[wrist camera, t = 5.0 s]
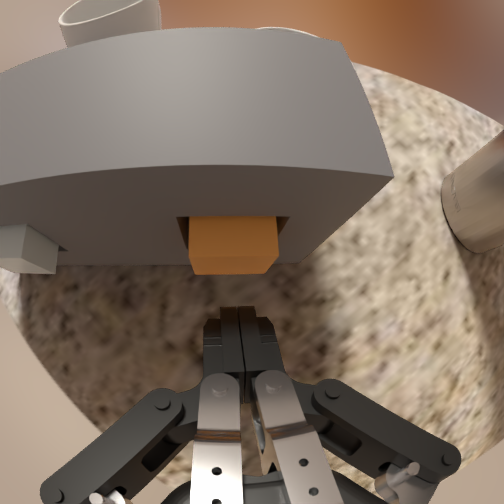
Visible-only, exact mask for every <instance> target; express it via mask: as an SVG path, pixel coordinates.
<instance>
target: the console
mask: <svg viewBox="0 0 504 504" xmlns="http://www.w3.org/2000/svg"><path fill="white" fill-rule="evenodd" d="M393 178H394V174H393V170H392V167H391V164H390V160H389V157H388V154H387V151H386V148H385V145H384V142H383V139H382V136H381V133H380V130H379V127H378V125H377V122H376V119H375V117H374V114H373V111H372V109H371V106H370V104H369V101H368V99H367V97H366V94H365V92H364V89H363V87H362V85H361V83H360V80H359V78H358V76H357V74H356V72H355V69H354V67H353V65H352V63H351V61H350V59H349V57H348V55H347V53H346V51H345V49H344V47H343V45H342V43H341V42H338V41H333V40H329V39H324V38H319V37H314V36H308V35H302V34H296V33H289V32H281V31H272V30H262V29H249V28H226V27H225V28H224V27H221V28H220V27H202V28H178V29H166V30H155V31H146V32H139V33H132V34H126V35H120V36H115V37H109V38H105V39H100V40H96V41H91V42H87V43H83V44H79V45H76V46H72V47H69V48H65V49H62V50H59V51H56V52H53V53H50V54H47V55H44V56H41V57H38V58H35V59H33V60H30V61H28V62H25V63H23V64H20V65H18V66H16V67H13V68H11V69H9V70H6V71H5V72H2V73H0V226H9V225H21V224H29V225H30V226H31V227H33V228H34V229H36V230H37V231H39V232H40V233H42V234H43V235H45V236H46V237H48V238H49V239H51V240H52V241H54V242H55V243H57V244H58V245H59V248H58V256H57V265H191V262H190V259H189V217H190V216H276V222H277V235H278V248H279V256H278V258H277V259H276V260H275V261H274V263H273V264H283V263H300V262H301V261H302V260H303V259H304V258H305V257H307V256H308V255H309V254H310V253H311V252H312V251H314V250H315V249H316V248H317V247H318V246H319V245H320V244H321V243H323V242H324V241H325V240H326V239H327V238H328V237H329V236H331V235H332V234H333V233H334V232H335V231H336V230H337V229H338V228H339V227H341V226H342V225H343V224H344V223H345V222H346V221H347V220H348V219H349V218H351V217H352V216H353V215H354V214H355V213H356V212H357V211H358V210H359V209H360V208H362V207H363V206H364V205H365V204H366V203H367V202H368V201H369V200H370V199H371V198H372V197H373V196H375V195H376V194H377V193H378V192H379V191H380V190H381V189H382V188H383V187H384V186H385V185H386V184H387V183H388V182H389V181H391V180H392V179H393Z"/></svg>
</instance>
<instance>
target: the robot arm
mask: <svg viewBox="0 0 504 504" xmlns="http://www.w3.org/2000/svg"><path fill="white" fill-rule="evenodd" d="M441 198H442V204H443V208H444V211H445V215H446V217H447V220H448V222H449V225H450V227H451V228H452V230H453V232H454V234H455V235H456V237H457V238H458V239H459V241H460V242H461V243H462V244H463V245H464V246H465V247H466V248H467V249H469V250H470V251H472V252H474V253H483V252H485V251H488V250H490V249H495V248H497V247H499V246H502V245H504V130H502V131H501V132H500V133H499V134H498V135H497V136H495V137H494V138H493V139H492V140H491V141H490V142H488V143H487V144H486V145H485V146H484V147H482V148H481V149H480V150H479V151H478V152H476V153H475V154H474V155H473V156H471V157H470V158H469V159H468V160H466V161H465V162H464V163H463V164H461V165H460V166H459V167H458V168H456V169H455V170H454V171H453V172H451V173H450V174H449V175H448V176H447V177H446V178H445V179H444V181H443V183H442V188H441ZM203 338H204V339H203V378H202V380H201V382H200V383H199V384H198V385H197V386H196V387H195V388H193V389H191V390H188V391H185V392H181V393H178V394H177V393H176V392H174V391H172V390H170V389H166V388H160V389H156V390H153V391H151V392H150V393H148V394H147V395H146V396H145V397H144V398H143V399H142V400H141V401H139V402H138V403H137V404H136V405H135V406H134V407H133V408H131V409H130V410H129V411H128V412H127V413H126V414H125V415H123V416H122V417H121V418H120V419H119V420H118V421H117V422H115V423H114V424H113V425H112V426H111V427H110V428H108V429H107V430H106V431H105V432H104V433H103V434H101V435H100V436H99V437H98V438H97V439H95V440H94V441H93V442H92V443H91V444H90V445H88V446H87V447H86V448H85V449H83V451H81V452H80V453H79V454H77V455H76V456H75V457H74V458H73V459H71V460H70V461H69V462H68V463H67V464H65V465H64V466H63V467H61V468H60V469H59V470H58V471H56V472H55V473H54V474H53V475H52V476H50V477H49V478H48V479H46V480H45V481H44V482H43V483H42V485H41V488H40V496H41V499H42V502H43V503H44V504H133V503H132V502H131V501H130V500H131V499H132V498H133V497H134V496H135V495H136V494H137V493H139V492H140V491H141V490H142V489H143V488H144V487H145V486H146V485H147V484H148V483H149V482H150V481H151V480H152V479H153V478H154V477H155V476H156V475H157V474H158V473H160V472H161V471H162V470H163V469H164V468H165V467H166V466H167V465H168V463H169V462H170V461H171V460H172V459H173V458H174V457H175V456H176V455H177V454H178V453H179V452H180V451H181V450H182V449H183V448H184V447H185V446H186V445H187V444H188V443H189V441H191V440H194V446H193V461H192V479H191V481H188V482H186V483H184V484H182V485H180V486H179V487H177V488H176V489H175V490H173V491H172V492H171V493H170V494H169V495H168V496H167V497H166V499H165V500H164V501H163V502H162V503H161V504H428V503H429V501H430V499H431V498H432V496H433V494H434V492H435V490H436V488H437V486H438V484H439V483H440V482H441V481H442V480H444V479H445V478H447V477H449V476H450V475H452V474H453V473H455V472H456V471H457V470H458V469H459V467H460V464H461V454H460V452H459V450H458V449H457V448H456V447H455V446H453V445H451V444H450V443H448V442H446V441H444V440H442V439H440V438H438V437H436V436H434V435H432V434H430V433H429V432H427V431H425V430H423V429H421V428H419V427H417V426H416V425H414V424H412V423H410V422H408V421H407V420H405V419H403V418H401V417H400V416H398V415H396V414H394V413H393V412H391V411H389V410H387V409H386V408H384V407H382V406H381V405H379V404H377V403H376V402H374V401H372V400H370V399H369V398H367V397H366V396H364V395H362V394H361V393H359V392H357V391H356V390H354V389H352V388H351V387H349V386H348V385H346V384H344V383H343V382H341V381H339V380H336V379H325V380H322V381H320V382H319V383H318V384H317V385H310V384H303V383H299V382H296V381H294V380H293V379H291V378H290V377H289V376H288V375H287V374H286V372H285V369H284V366H283V362H282V358H281V354H280V350H279V346H278V343H277V338H276V336H275V330H274V326H273V324H272V323H271V322H270V320H269V319H268V318H267V317H256V312H255V307H254V306H238V307H220V319H208V321H207V322H206V324H205V326H204V332H203ZM243 395H244V403H250V404H251V411H252V413H251V421H252V425H253V429H254V433H255V437H256V441H257V445H258V449H259V453H260V459H261V468H262V473H263V476H260V477H256V476H248V475H242V458H241V435H240V407H241V404H243ZM322 447H324V448H325V449H327V450H328V451H330V452H331V453H333V454H334V455H336V456H337V457H339V458H341V459H342V460H344V461H345V462H347V463H348V464H350V465H352V466H353V467H355V468H357V469H358V470H360V471H362V472H363V473H365V474H367V475H368V476H370V477H372V478H374V479H375V483H374V486H375V490H376V492H377V493H378V494H379V495H380V496H381V497H383V498H384V500H385V501H384V500H382V499H380V498H379V497H377V496H375V495H374V494H372V493H371V492H369V491H367V490H366V489H364V488H363V487H361V486H359V485H358V484H356V483H355V482H353V481H352V480H350V479H349V478H347V477H346V476H344V475H342V474H340V473H338V472H336V471H333V470H331V469H330V466H329V463H328V461H327V458H326V455H325V453H324V450H323V448H322Z"/></svg>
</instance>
